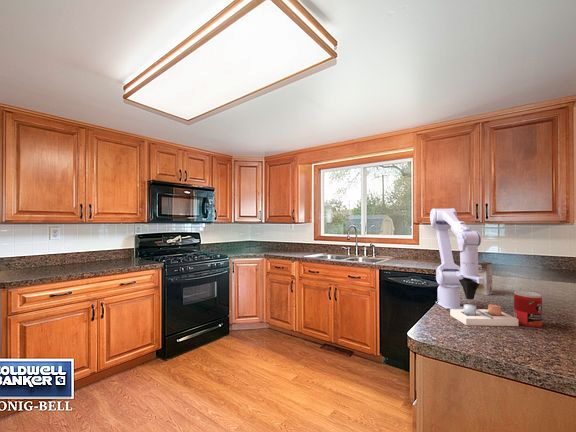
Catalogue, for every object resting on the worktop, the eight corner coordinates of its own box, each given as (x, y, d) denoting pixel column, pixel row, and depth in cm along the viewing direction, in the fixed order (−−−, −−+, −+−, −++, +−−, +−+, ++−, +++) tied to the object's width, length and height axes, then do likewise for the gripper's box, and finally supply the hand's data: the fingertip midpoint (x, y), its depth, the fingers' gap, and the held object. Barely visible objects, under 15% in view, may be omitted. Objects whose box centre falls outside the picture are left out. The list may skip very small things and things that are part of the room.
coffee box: (467, 291, 148) (467, 261, 149) (474, 290, 152) (473, 260, 152) (487, 295, 141) (486, 263, 141) (493, 293, 144) (492, 262, 144)
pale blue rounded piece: (461, 313, 108) (461, 304, 108) (472, 313, 108) (472, 304, 108) (467, 316, 104) (467, 307, 104) (478, 316, 104) (478, 307, 104)
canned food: (531, 328, 97) (531, 296, 97) (508, 320, 105) (508, 291, 105) (548, 326, 99) (547, 295, 99) (524, 319, 107) (524, 290, 107)
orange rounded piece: (485, 313, 107) (485, 304, 107) (496, 313, 107) (496, 304, 107) (492, 317, 103) (492, 307, 103) (504, 317, 103) (503, 307, 103)
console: (450, 315, 111) (450, 307, 112) (497, 315, 111) (496, 308, 111) (466, 325, 100) (466, 316, 101) (518, 326, 100) (518, 317, 100)
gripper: (448, 260, 114) (448, 294, 113) (469, 265, 99) (470, 304, 99) (466, 260, 113) (466, 294, 113) (490, 265, 99) (491, 304, 98)
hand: (469, 298), depth 106 cm, fingers closed
